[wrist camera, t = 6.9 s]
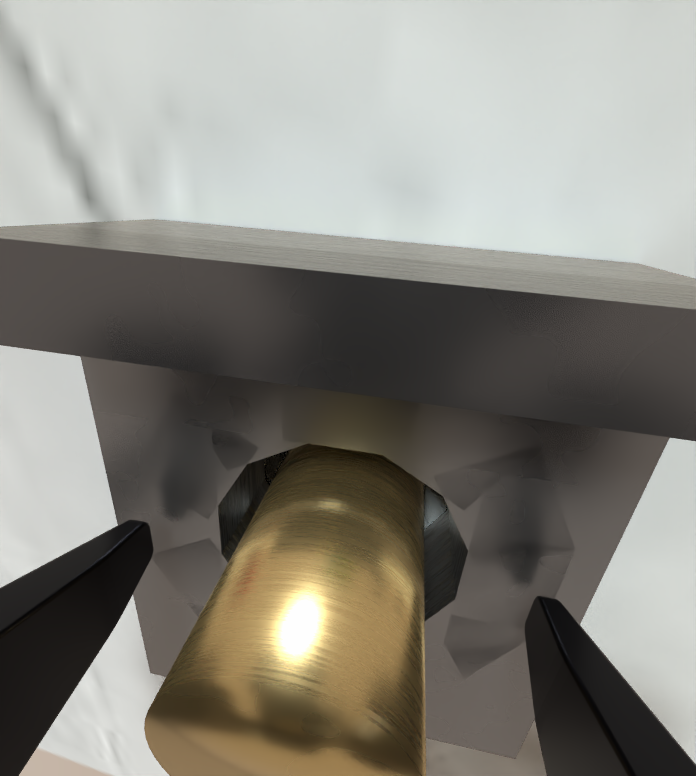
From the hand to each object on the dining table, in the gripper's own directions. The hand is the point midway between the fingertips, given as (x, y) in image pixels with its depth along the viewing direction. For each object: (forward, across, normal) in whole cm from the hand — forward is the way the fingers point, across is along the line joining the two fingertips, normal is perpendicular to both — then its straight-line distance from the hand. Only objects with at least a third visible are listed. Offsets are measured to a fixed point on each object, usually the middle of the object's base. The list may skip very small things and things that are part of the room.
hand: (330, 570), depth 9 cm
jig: (+4, 0, 0) cm, 4 cm away
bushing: (+4, 0, 0) cm, 4 cm away
